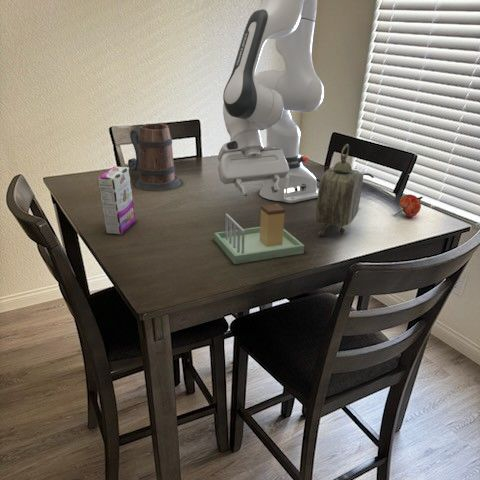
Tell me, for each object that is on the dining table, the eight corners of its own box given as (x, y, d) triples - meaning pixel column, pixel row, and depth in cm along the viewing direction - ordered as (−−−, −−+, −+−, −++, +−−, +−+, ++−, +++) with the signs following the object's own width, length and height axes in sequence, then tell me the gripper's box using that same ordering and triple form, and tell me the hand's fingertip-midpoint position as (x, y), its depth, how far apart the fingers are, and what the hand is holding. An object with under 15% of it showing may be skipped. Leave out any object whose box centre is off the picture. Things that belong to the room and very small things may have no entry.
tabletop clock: (327, 221, 149) (338, 137, 136) (356, 226, 146) (370, 141, 132) (313, 237, 138) (323, 148, 125) (343, 243, 135) (357, 152, 121)
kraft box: (275, 237, 136) (277, 203, 130) (282, 244, 132) (285, 209, 126) (259, 240, 134) (260, 205, 129) (266, 246, 130) (268, 211, 125)
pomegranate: (400, 227, 152) (430, 210, 149) (389, 207, 150) (419, 190, 147) (397, 221, 159) (426, 204, 155) (387, 202, 157) (415, 185, 153)
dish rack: (277, 231, 142) (279, 204, 137) (303, 253, 129) (306, 224, 125) (214, 240, 135) (213, 212, 131) (234, 264, 123) (235, 234, 118)
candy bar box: (120, 219, 147) (113, 165, 138) (135, 221, 146) (130, 166, 137) (104, 233, 137) (96, 176, 129) (120, 235, 137) (113, 178, 128)
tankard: (190, 182, 179) (188, 126, 168) (157, 193, 168) (152, 133, 157) (147, 170, 191) (143, 117, 180) (114, 180, 180) (107, 123, 169)
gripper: (277, 152, 142) (289, 194, 140) (212, 158, 136) (224, 202, 134) (285, 139, 136) (298, 184, 134) (217, 145, 130) (230, 191, 128)
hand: (260, 193), depth 134 cm, fingers open, 8 cm apart
